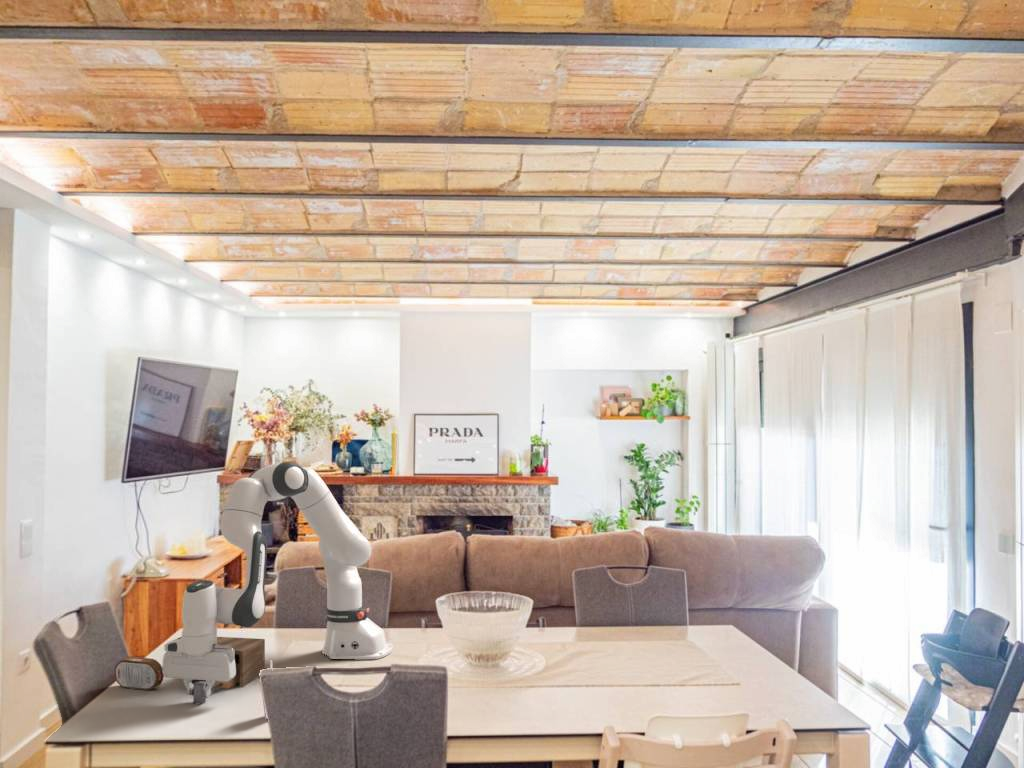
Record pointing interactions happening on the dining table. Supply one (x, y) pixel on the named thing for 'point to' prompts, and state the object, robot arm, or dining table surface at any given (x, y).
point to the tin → (139, 673)
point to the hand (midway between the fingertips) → (199, 695)
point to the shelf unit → (246, 656)
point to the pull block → (214, 686)
